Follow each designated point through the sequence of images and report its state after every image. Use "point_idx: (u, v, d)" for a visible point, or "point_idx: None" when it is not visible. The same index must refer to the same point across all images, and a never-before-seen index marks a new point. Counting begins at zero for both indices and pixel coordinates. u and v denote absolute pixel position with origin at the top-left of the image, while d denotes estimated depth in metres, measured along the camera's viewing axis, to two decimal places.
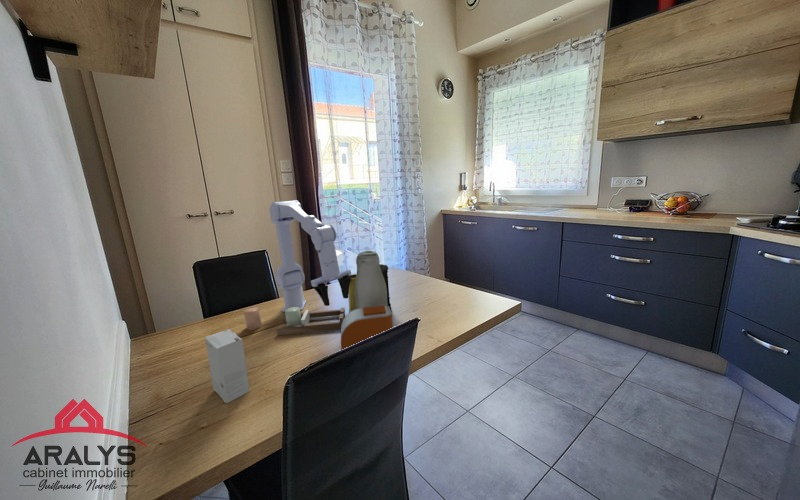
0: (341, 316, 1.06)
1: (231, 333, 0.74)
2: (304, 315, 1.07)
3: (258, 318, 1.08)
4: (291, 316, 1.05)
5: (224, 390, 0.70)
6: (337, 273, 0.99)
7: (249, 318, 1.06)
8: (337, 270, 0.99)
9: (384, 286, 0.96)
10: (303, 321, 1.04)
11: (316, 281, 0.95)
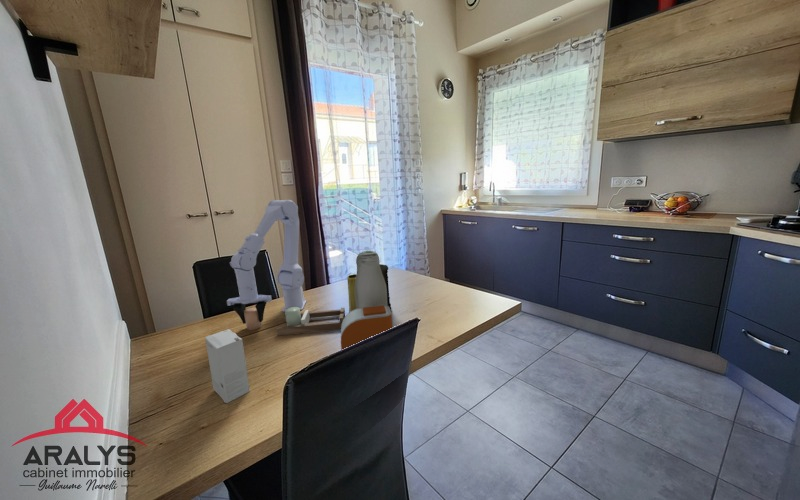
0: (341, 316, 1.06)
1: (231, 333, 0.74)
2: (304, 315, 1.07)
3: (258, 318, 1.08)
4: (291, 315, 1.05)
5: (224, 390, 0.70)
6: (248, 299, 1.04)
7: (249, 318, 1.06)
8: (248, 296, 1.04)
9: (384, 286, 0.96)
10: (303, 321, 1.04)
11: (229, 301, 1.05)
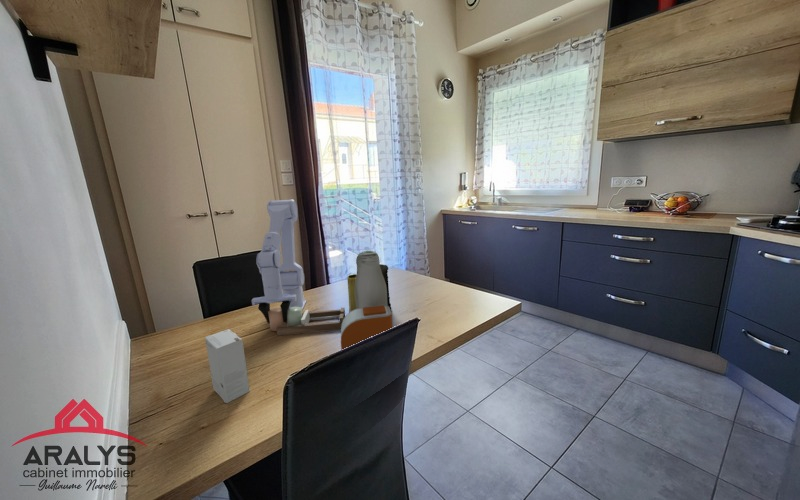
0: (341, 316, 1.06)
1: (231, 333, 0.74)
2: (304, 315, 1.07)
3: None
4: (293, 315, 1.04)
5: (224, 390, 0.70)
6: (273, 298, 1.02)
7: (274, 318, 1.04)
8: (274, 295, 1.02)
9: (384, 286, 0.96)
10: (303, 321, 1.04)
11: (254, 300, 1.03)
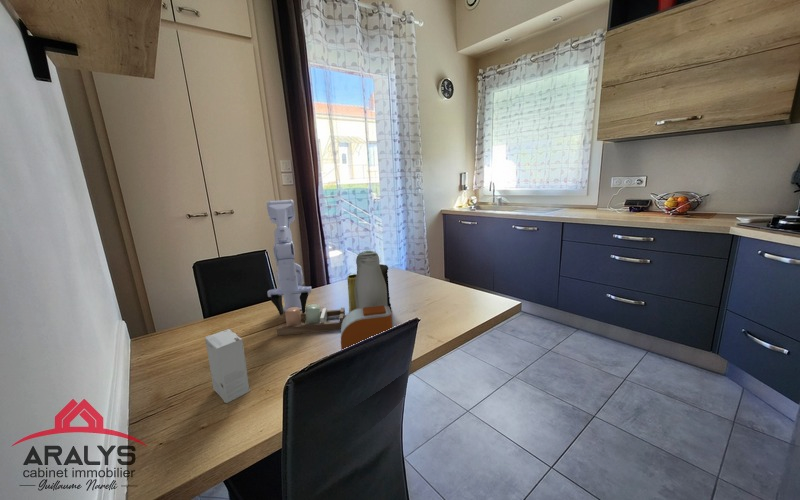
0: (341, 316, 1.06)
1: (231, 333, 0.74)
2: (322, 313, 1.08)
3: (299, 318, 1.07)
4: (311, 313, 1.05)
5: (224, 390, 0.70)
6: (289, 290, 1.02)
7: (291, 318, 1.05)
8: (290, 287, 1.02)
9: (384, 286, 0.96)
10: (322, 319, 1.04)
11: (269, 292, 1.03)
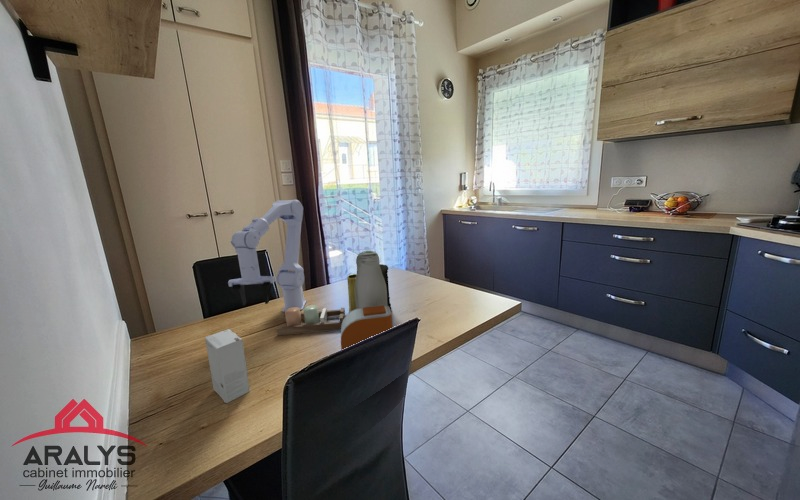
0: (341, 316, 1.06)
1: (231, 333, 0.74)
2: (322, 313, 1.08)
3: (299, 318, 1.07)
4: (309, 314, 1.05)
5: (224, 390, 0.70)
6: (250, 279, 1.00)
7: (291, 318, 1.05)
8: (251, 276, 1.00)
9: (384, 286, 0.96)
10: (322, 319, 1.04)
11: (230, 282, 1.01)
